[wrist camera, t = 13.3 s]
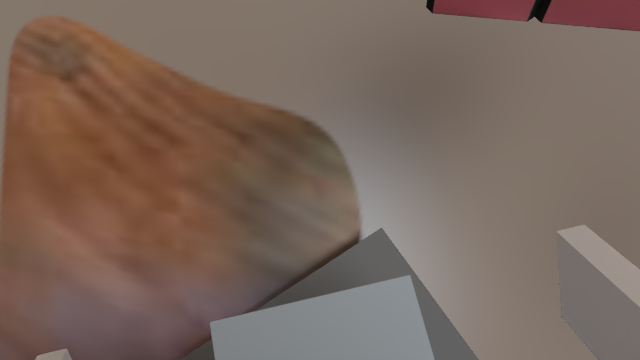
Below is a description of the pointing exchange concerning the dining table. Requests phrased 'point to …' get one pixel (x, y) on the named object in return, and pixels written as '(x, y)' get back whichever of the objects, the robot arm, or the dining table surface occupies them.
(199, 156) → the dining table surface
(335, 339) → the slate block
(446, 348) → the rubber pad
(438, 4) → the puzzle cube
